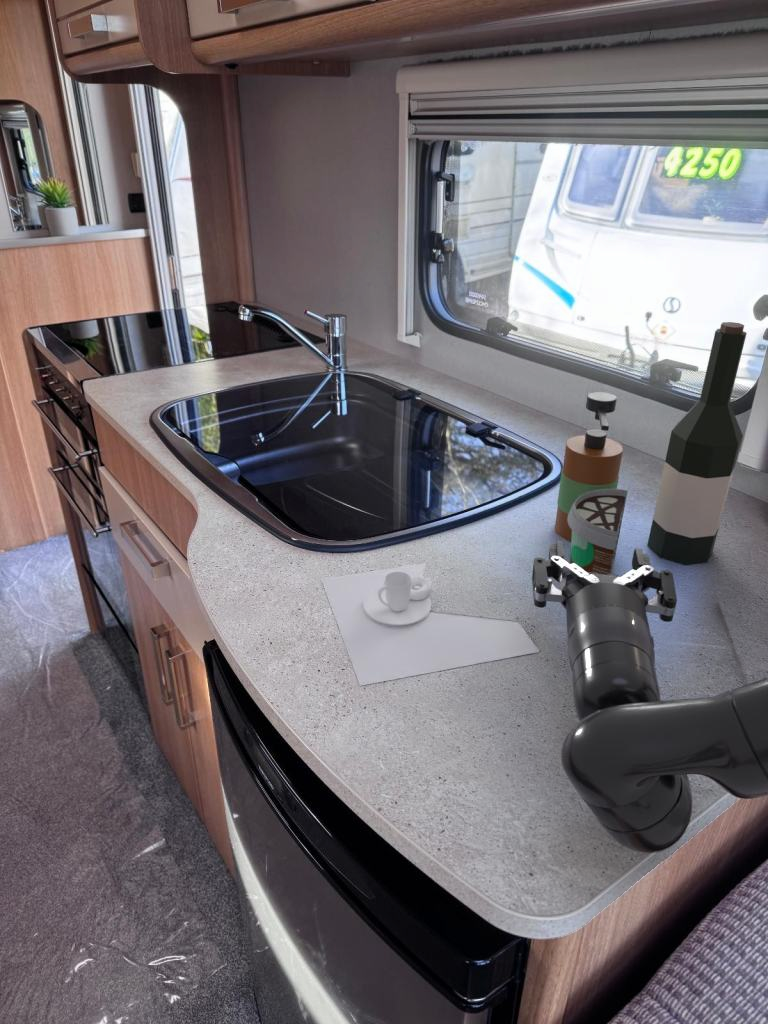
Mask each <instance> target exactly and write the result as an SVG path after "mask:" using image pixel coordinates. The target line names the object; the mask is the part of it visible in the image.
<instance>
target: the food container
mask: <svg viewBox="0 0 768 1024" xmlns="http://www.w3.org/2000/svg"><path fill="white" fill-rule="evenodd" d="M627 496H628V489H621V488H617V489H599V490H593V491H590V492H587V493H584V494H582V495H581V496H579V497H578V498H577V499H576V501H575V502H574V503H573V505H572V507H571V510H570V512H569V515H568V518H567V520H568V524H569V527H570V528H571V529H572V538H571V542H570V554H569V555H570V556H569V564H572V563H575V564H576V565H578V566H579V567H580V568H582V569H583V570H584V571H586V572H593V573H598V574H602V575H607V574H612V572H613V568H614V565H615V559H616V554H617V549H618V543H619V540H620V539H619V538H620V534H621V527H622V523H623V517H624V513H625V509H626V508H625V507H626V502H627ZM575 579H576V578H575Z"/></svg>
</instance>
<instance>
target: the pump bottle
mask: <svg viewBox="0 0 768 1024" xmlns="http://www.w3.org/2000/svg"><path fill="white" fill-rule="evenodd" d="M607 435H608V434H607V432H606V431H605V430H601V429H597V428H595V429H594V428H592V429H587V430H586V431H585V434H583V435H582V434H581V435H576V436H573V437H570V438H568V439H567V440H566V443H565V450H564V456H563V457H564V458H563V463H562V464H563V465H562V468H561V473H560V474H561V475H560V479H559V481H560V482H559V489H558V495H557V502H556V503H557V509H556V516H555V523H554V531H555V533H556V534H557V535H558V536H559V537H560V538H562V539H563V540H565V541H568V542H570V543H571V538H572V529H571V528H570V527H569V524H568V520H567V518H568V515H569V512H570V510H571V507H572V505H573V503H574V502H575V501H576V499H577V498H578V497H579V496H581V495H582V494H584V493H587V492H590V491H593V490H599V489H618V484H619V478H620V475H619V474H620V470H621V463H622V457H623V451H624V448H623V445H622V444H621V443H619V442H618V441H616V440H614V439H611V438H608V436H607Z"/></svg>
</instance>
